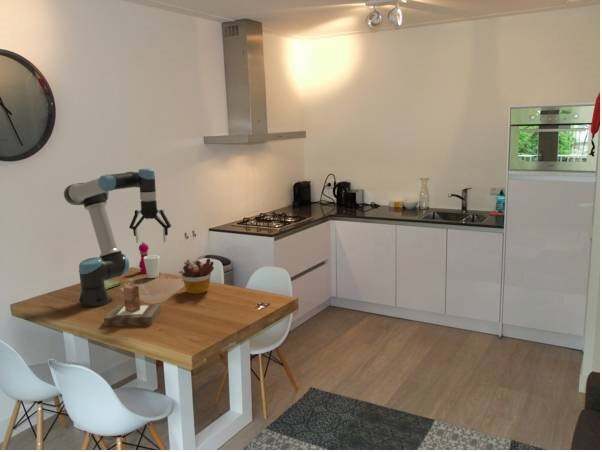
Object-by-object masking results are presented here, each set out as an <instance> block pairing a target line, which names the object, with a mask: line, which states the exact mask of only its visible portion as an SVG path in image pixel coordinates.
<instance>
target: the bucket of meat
mask: <svg viewBox="0 0 602 452" xmlns="http://www.w3.org/2000/svg"><path fill="white" fill-rule="evenodd" d="M190 261H191V260H190V259H189V258H187V259H186V261H184V262H183V265H184V266H182V267H183V269H180V270H179V271H178V274H180V275H181V278H182V280H183V285H184V287H185V291H186V292H187V293H188V294H190V295H201V294H202V295H203V294H204V293H207V292H208V290H209V287H210V281H211V276H212V272H213V271H214V269H215V268H214V261H211V258H207V259H206V262H204V261H203V260H201V259H195V261H191V262H190Z"/></svg>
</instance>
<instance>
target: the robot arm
mask: <svg viewBox="0 0 602 452" xmlns="http://www.w3.org/2000/svg"><path fill="white" fill-rule="evenodd" d="M155 174H156V173H155V170H154V169H153V168H139V169H138V172H137V171H136V172H135V171H126V172H122V173H113V174H111V173H110V174H104V175H103V174H102V175H100V177H98V178H96V179H92V180H89V181H86V182H80V183H79V182H78V183H73V184H69V185H68V186H66V187H65V189H64V192H63V197H64V199H65V201H66V202H67V203H68V204H70V205H73V206H83V207H84V209H85V210H86V211H88V213H89V216H90V219H91V220H90V221H91V223H92V227H93V230H94V233H95V237H96V241H97V244H98V248H99V250H100V254H99V257H97V256H96V257H95V256H94V257H90V258H87V259H83V260H82V261H81V262H80V263H79V264H78V265H79V266H78V273H79V280H80V294H79V298H78V306H80V307H83V308H93V307H94V308H95V307H100V306H103V305H106V304H108V303H109V302H110V296H109V293H108V292H107V291H108V290H106V289H105V285H104V281H105V280H113V279H115V278H119V277H122V276H124V275H127V273H128V272H129V270H130V261H129V258H128V256H127V255H126V254H125V253H122V250H120V249H119V248H118V247H117V243H116V240H115V236H114V233H113V230H112V226H111V223H110V220H109V216H108V213H107V210H106V206H107V201H108V199H109V192H111V191H115V190H121V189H122V190H124V189H129V188H130V189H131V188H139V197H140V198H139V199H140V200H141V201H140V209H141V210H140V209H136V210H134V215H133V218H132V220H131V223H130V224H129V227H128V228H129V229H130V230H132V231H133V236H134V237H135V242H136V243H137V244H138V243H140V235H139V233H140V232H139V228H138V227H139V226H140V225H141V224H142V222H143V221H144V220H145V219H146V220H151V219H152V220H153V219H154V220H155V221H156V222H157V223H159V224H160V226H161V227H162V228H163V229H162V237H163V243H166V242H167V236H168V235H169V230H168V229H169V228H171V227H172V224H171V223H170V221H169V220H168V217H167V216H166V214H165V210H164V209H158V206H157V204H158V203H157V200H156V199H157V192H156V189H157V188H156V175H155ZM140 214H141V215H142V216H141V217H140V219H139V220H138V221H137V222H136V220H137V218H138V216H139V215H140ZM158 214H159V215H160V217H159V215H158ZM161 218H162V219H161Z"/></svg>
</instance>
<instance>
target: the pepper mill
mask: <svg viewBox="0 0 602 452" xmlns="http://www.w3.org/2000/svg"><path fill="white" fill-rule="evenodd" d="M149 249H150V248H149V245H148V244H146V242H145V241H141V244H140V245H139V246H138V250H139V255H140V261H139V265H138V267H139V268H140V273H141V274H147V273H146V267H145V263H144V257H145V256H149V251H148V250H149Z"/></svg>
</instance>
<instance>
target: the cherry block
mask: <svg viewBox="0 0 602 452" xmlns="http://www.w3.org/2000/svg"><path fill="white" fill-rule="evenodd" d="M122 288H123V290H122V291H123V299H124V305H125V311H128V312H131V313H132V312H135V311H138V310H140V305H141V300H140V288H139V285H137V284H133V283H132V284H128V285H125V286H123V287H122Z"/></svg>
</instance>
